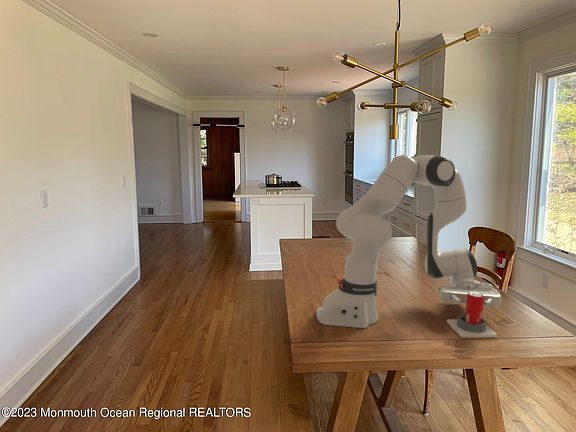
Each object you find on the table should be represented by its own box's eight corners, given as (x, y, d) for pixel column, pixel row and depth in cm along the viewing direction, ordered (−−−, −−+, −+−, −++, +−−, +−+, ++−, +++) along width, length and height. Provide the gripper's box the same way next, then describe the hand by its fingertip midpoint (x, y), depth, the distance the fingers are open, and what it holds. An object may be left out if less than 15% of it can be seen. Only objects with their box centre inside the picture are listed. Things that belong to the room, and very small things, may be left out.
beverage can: (467, 323, 147) (470, 290, 145) (483, 327, 144) (486, 294, 142) (462, 327, 144) (465, 294, 142) (477, 332, 140) (480, 298, 138)
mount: (461, 337, 139) (462, 327, 138) (446, 322, 150) (447, 312, 150) (497, 337, 139) (498, 327, 138) (480, 322, 151) (480, 312, 150)
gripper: (437, 279, 159) (441, 292, 145) (496, 284, 154) (506, 297, 141) (436, 295, 160) (440, 309, 147) (494, 301, 155) (504, 315, 142)
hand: (473, 303), depth 144 cm, fingers open, 8 cm apart
